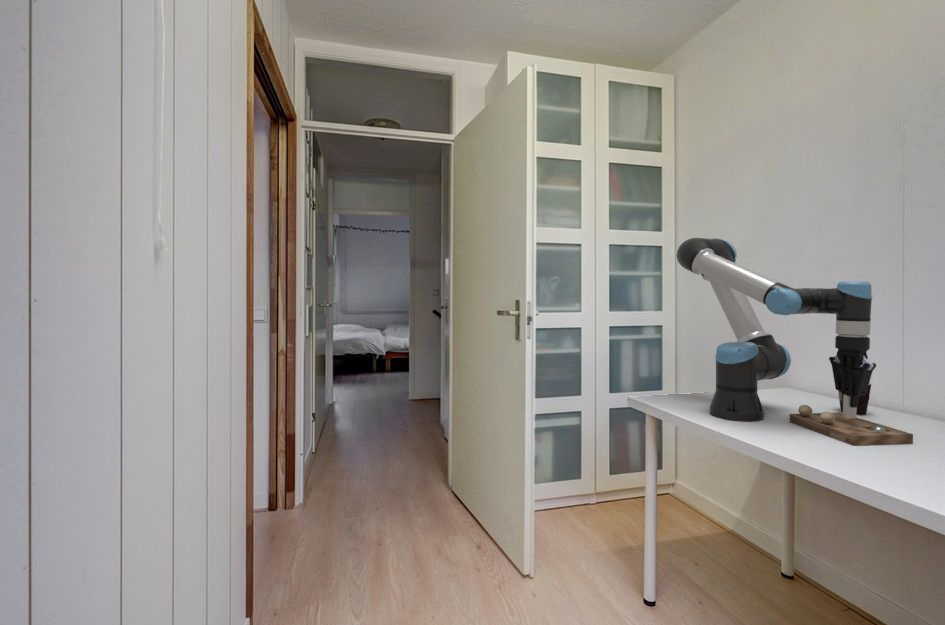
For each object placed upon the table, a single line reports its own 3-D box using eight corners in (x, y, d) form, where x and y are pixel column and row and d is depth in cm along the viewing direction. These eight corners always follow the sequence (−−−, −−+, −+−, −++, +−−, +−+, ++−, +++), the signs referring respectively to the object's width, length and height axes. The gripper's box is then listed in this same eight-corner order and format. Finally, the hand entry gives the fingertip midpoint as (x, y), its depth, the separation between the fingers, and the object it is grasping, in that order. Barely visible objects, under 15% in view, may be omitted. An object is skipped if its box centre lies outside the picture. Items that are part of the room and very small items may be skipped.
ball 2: (826, 425, 126) (826, 413, 125) (816, 422, 129) (817, 410, 129) (838, 425, 126) (838, 413, 126) (828, 421, 129) (828, 410, 129)
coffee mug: (836, 408, 154) (837, 378, 153) (870, 411, 148) (870, 381, 148) (836, 415, 145) (836, 384, 144) (872, 419, 139) (872, 387, 139)
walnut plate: (853, 445, 116) (854, 436, 116) (789, 422, 138) (789, 413, 138) (912, 443, 117) (913, 434, 117) (839, 420, 139) (839, 412, 139)
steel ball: (869, 440, 122) (880, 438, 119) (864, 427, 124) (875, 425, 120) (881, 439, 122) (892, 437, 119) (876, 426, 124) (887, 424, 121)
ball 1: (804, 417, 133) (804, 406, 133) (795, 414, 137) (795, 403, 137) (815, 417, 134) (815, 406, 134) (806, 414, 137) (806, 403, 137)
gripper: (887, 337, 122) (883, 424, 123) (845, 333, 135) (842, 411, 136) (860, 338, 122) (856, 424, 123) (821, 333, 135) (818, 411, 136)
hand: (849, 417), depth 130 cm, fingers closed
